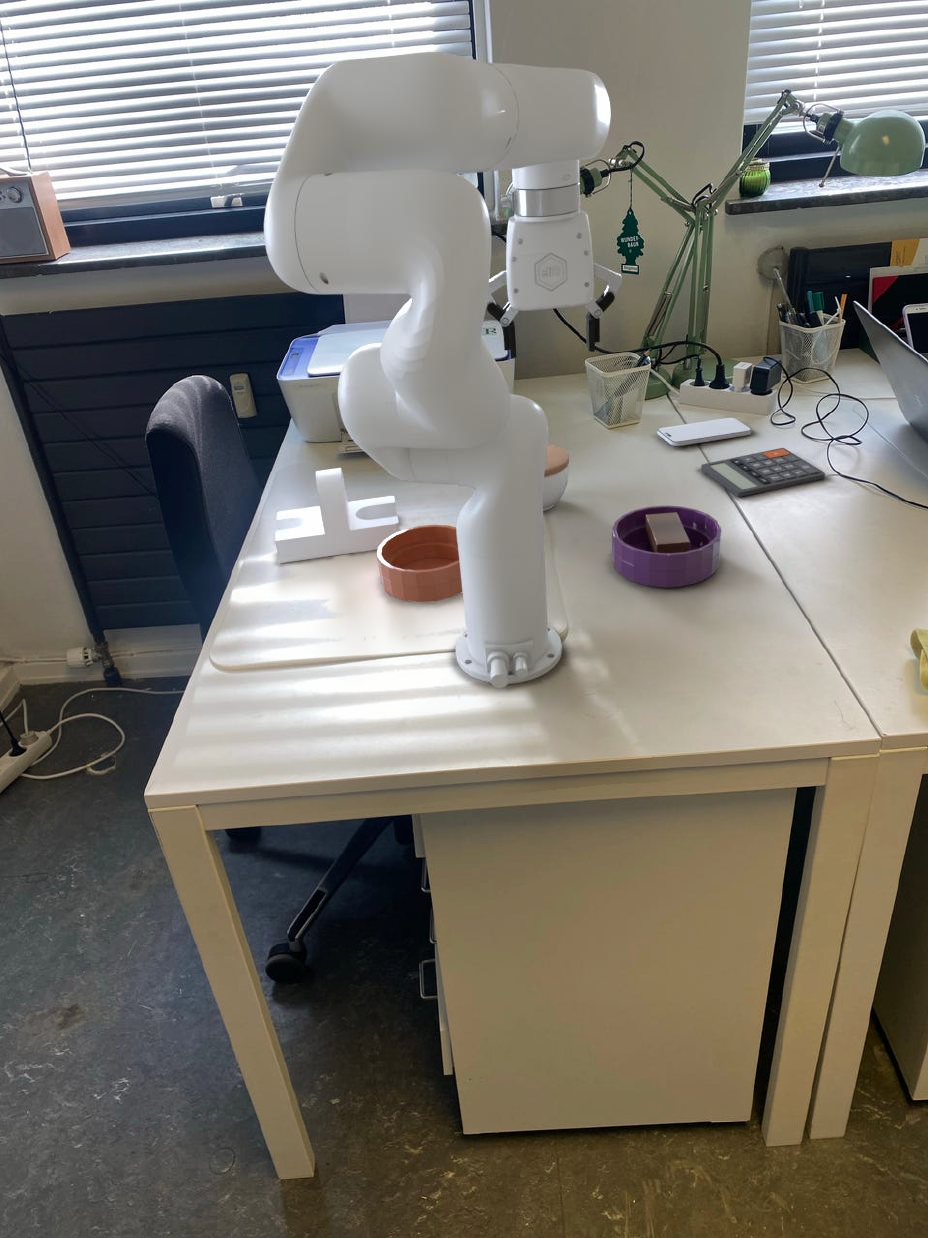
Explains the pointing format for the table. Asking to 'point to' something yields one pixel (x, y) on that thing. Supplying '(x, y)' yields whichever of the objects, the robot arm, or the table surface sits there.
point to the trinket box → (555, 476)
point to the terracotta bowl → (421, 563)
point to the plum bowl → (666, 567)
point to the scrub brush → (666, 534)
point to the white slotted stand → (334, 523)
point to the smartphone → (703, 431)
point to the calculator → (762, 472)
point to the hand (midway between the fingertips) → (551, 351)
